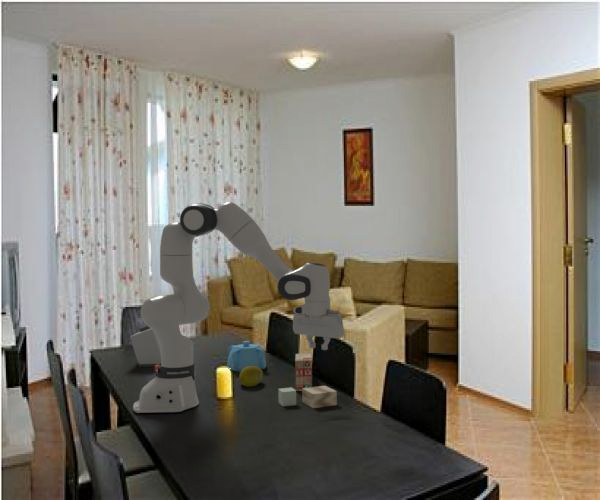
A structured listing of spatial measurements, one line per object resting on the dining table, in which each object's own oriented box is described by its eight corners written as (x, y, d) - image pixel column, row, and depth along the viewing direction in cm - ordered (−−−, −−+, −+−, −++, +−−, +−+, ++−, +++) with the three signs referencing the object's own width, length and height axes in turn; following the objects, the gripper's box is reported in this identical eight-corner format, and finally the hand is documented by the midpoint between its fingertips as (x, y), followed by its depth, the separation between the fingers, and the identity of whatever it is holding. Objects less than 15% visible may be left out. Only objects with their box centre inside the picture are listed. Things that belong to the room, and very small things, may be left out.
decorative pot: (265, 368, 272) (264, 337, 272) (266, 376, 256) (266, 343, 256) (228, 369, 271) (227, 338, 270) (227, 377, 255) (226, 345, 254)
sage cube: (282, 406, 210) (282, 392, 210) (278, 402, 215) (278, 388, 215) (296, 405, 212) (296, 390, 212) (292, 401, 217) (291, 387, 216)
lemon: (244, 390, 232) (243, 369, 232) (234, 386, 239) (234, 366, 239) (268, 386, 238) (268, 366, 238) (258, 382, 245) (258, 362, 245)
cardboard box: (296, 379, 250) (295, 349, 250) (311, 379, 250) (310, 349, 250) (295, 392, 229) (295, 359, 228) (312, 392, 229) (311, 359, 228)
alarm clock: (166, 372, 267) (165, 326, 266) (130, 373, 267) (129, 326, 267) (177, 362, 287) (176, 319, 287) (144, 363, 288) (143, 320, 287)
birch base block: (313, 409, 207) (312, 394, 207) (302, 402, 215) (302, 388, 215) (336, 405, 211) (336, 391, 211) (325, 399, 219) (325, 385, 219)
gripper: (347, 309, 208) (348, 350, 208) (301, 306, 221) (302, 344, 222) (336, 311, 203) (337, 353, 204) (289, 308, 216) (290, 347, 217)
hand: (318, 348), depth 213 cm, fingers open, 4 cm apart
